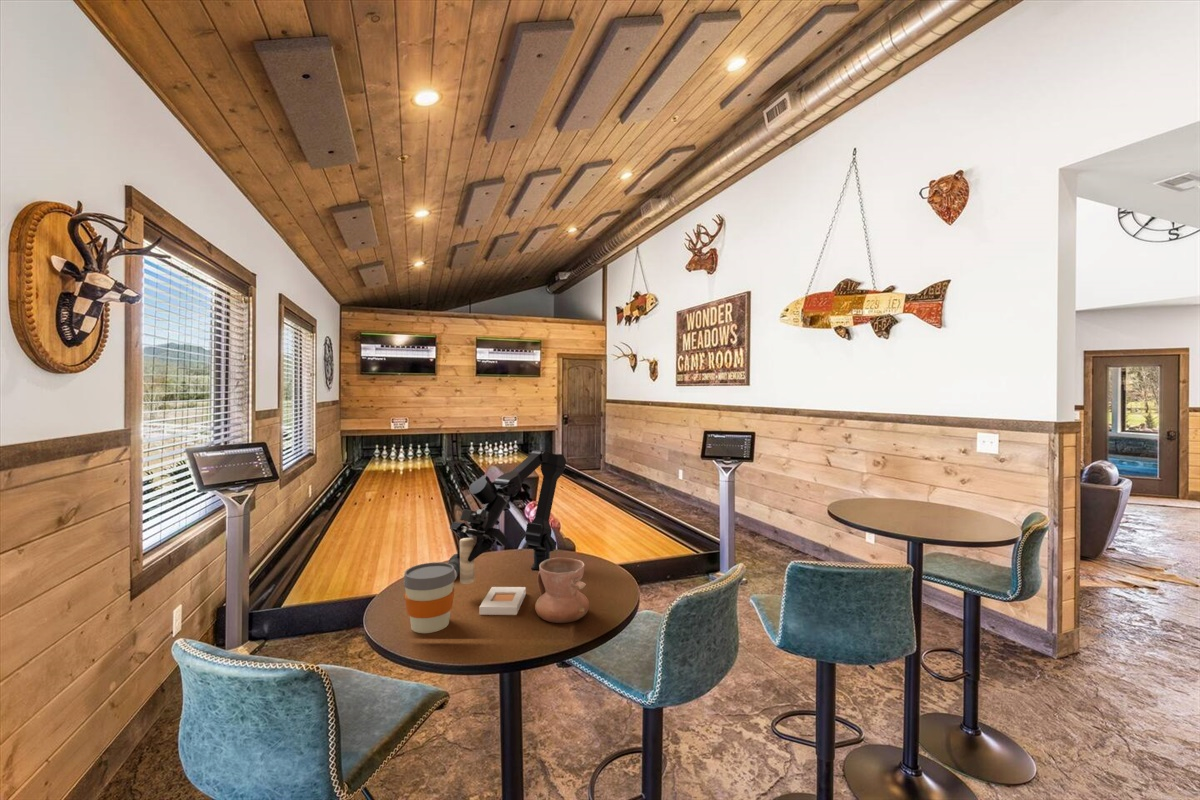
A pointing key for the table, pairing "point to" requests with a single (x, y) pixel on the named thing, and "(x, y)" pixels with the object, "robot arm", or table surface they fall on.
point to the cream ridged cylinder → (466, 561)
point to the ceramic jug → (561, 590)
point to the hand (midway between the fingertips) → (463, 559)
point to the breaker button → (503, 598)
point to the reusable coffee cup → (429, 595)
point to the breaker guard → (502, 606)
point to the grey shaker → (455, 564)
